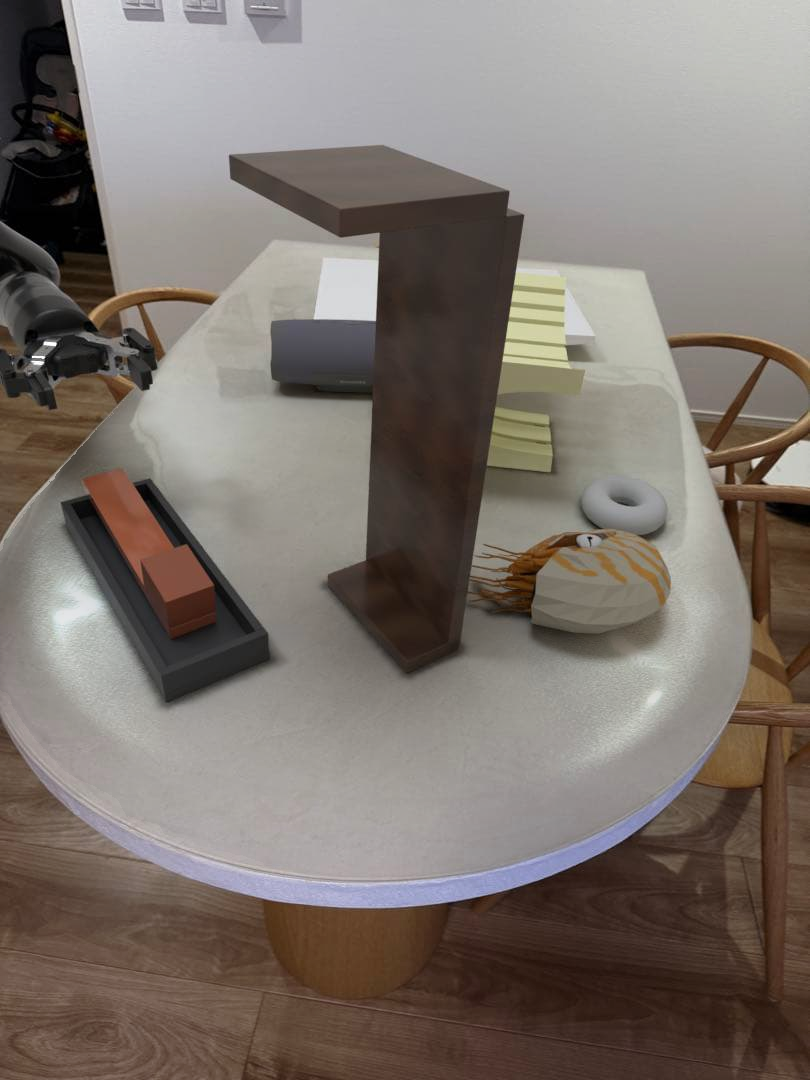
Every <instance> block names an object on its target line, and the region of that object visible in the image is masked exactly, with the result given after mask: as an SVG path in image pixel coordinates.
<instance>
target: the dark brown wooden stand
mask: <svg viewBox="0 0 810 1080" xmlns="http://www.w3.org/2000/svg"><path fill="white" fill-rule="evenodd" d="M228 165H229V178H230V180H231V181H233V182H235V183H237V184H239V185H240V186H243V187H245V188H246V189H248V190H250V191H252V192H254V193H256V194H258V195H260V197H261V196H262V197H263V198H265V199H267V200H269V201H270V202H273V203H274V204H276V205H278V206H280V207H282V208H284V209H286V210H287V211H290V212H292V213H293V214H295V215H297V216H299V217H301V218H303V219H304V220H306V221H309V222H310V223H312V224H314V225H316V226H318V227H319V228H321V229H323V230H325V231H327V232H328V233H330V234H333V235H334V236H336V237H338V238H340V239H342V238H349V237H350V238H351V237H357V236H365V235H366V236H367V235H371V234H372V235H373V234H378V233H379V238H378V259H377V260H378V283H377V307H376V330H375V354H374V377H373V392H372V401H371V402H372V405H371V423H370V424H371V426H370V427H371V428H370V448H369V449H370V451H369V471H368V474H369V475H368V496H367V497H368V498H367V499H368V500H367V520H366V521H367V522H366V546H365V560H363V561H360V562H357V563H354V564H352V565H350V566H349V565H348V566H347V567H343V568H341V569H339V570H336V571H333V572H331V573H328V574H327V587H328V588H329V589H330V590H331V591H332V592H333V593H334V595H335V596H336V597H337V598H338V599H339V600H340V601H341V602H342V603H343V604H344V606H345V607H346V608H347V609H348V610H349V612H351V613H352V614H353V616H355V618H356V619H357V620H358V621H359V622H360V624H362V626H363V627H364V629H366V631H368V632H369V633H370V634H371V635H372V637H373V638H374V639H375V640H376V641H377V642H378V643H379V644H380V645H381V647H382V648H383V649H384V650H385V651H386V652H387V653H388V655H389V656H390V657H391V658H392V659H393V660H394V661H395V662H396V663H397V664H398V666H399V667H400V668H401V669H402V670H403V671H404V672H405V673H406V674H409V673H411V672H413V671H415V670H417V669H420V668H422V667H424V666H425V665H428V664H430V663H431V662H432V663H433V662H434V661H436V660H438V659H440V658H442V657H444V656H448V655H449V654H451V653H453V652H455V651H457V650H459V649H460V645H461V638H462V633H463V626H464V618H465V614H466V613H465V612H466V605H467V599H468V594H469V593H468V591H469V586H470V581H469V580H470V579H471V577H470V575H471V573H472V567H471V566H472V565H473V558H474V556H473V555H474V552H475V546H476V541H477V533H478V527H479V526H478V525H479V520H480V513H481V507H482V499H483V494H484V493H483V492H484V487H485V479H486V474H487V473H486V472H487V468H488V466H487V460H488V454H489V447H490V440H491V434H492V427H493V421H494V414H495V407H497V406H496V405H497V399H498V395H497V394H498V387H499V381H500V374H501V368H502V361H503V354H504V348H505V341H506V334H507V328H508V321H509V315H510V308H511V301H512V295H513V288H514V281H515V275H516V268H518V267H517V266H518V259H519V255H520V247H521V242H522V241H521V240H522V236H523V235H522V234H523V227H524V221H525V214H524V213H522V212H519V211H516V210H514V209H511V208H509V201H510V194H511V193H510V192H511V191H510V190H508V189H506V188H503V187H500V186H498V185H496V184H495V185H494V184H492V183H489V182H486V181H484V180H481V179H479V178H475V177H473V176H470V175H467V174H464V173H462V172H459V171H456V170H453V169H450V168H447V167H445V166H442V165H440V164H437V163H434V162H431V161H428V160H426V159H422V158H420V157H417V156H414V155H411V154H409V153H407V152H403V151H401V150H398V149H395V148H393V147H390V146H387V145H384V144H374V145H359V146H343V147H328V148H327V147H326V148H309V149H298V150H296V149H295V150H279V151H265V152H264V151H263V152H248V153H233V154H228Z"/></svg>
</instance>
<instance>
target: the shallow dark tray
mask: <svg viewBox="0 0 810 1080" xmlns="http://www.w3.org/2000/svg"><path fill="white" fill-rule="evenodd" d="M132 484H133V485H134V487H135V488H136V490H137V491H138V493H139V494H140V496H141V497H142V499H143V501H144V502H145V504H146V505H147V507H148V508H149V510H150V511H151V513H152V514H153V516H154V518H155V519H156V521H157V522H158V524H159V525H160V527H161V528H162V530H163V531H164V533H165V534H166V536H167V538H168V539H169V541H170V542H171V544H172V545H173V547H174V548H177V547H180V546H183V545H186V544H187V545H188V547H189V548H190V550H191V551H192V553H193V554H194V556H195V557H196V559H197V560H198V562H199V563H200V565H201V566H202V568H203V569H204V571H205V572H206V574H207V575H208V577H209V578H210V580H211V581H212V583H213V584H214V591H215V607H216V622H215V623H212V624H210V625H207V626H204V627H202V628H199V629H196V630H194V631H191V632H189V633H186V634H183V635H181V636H178V637H176V638H173V639H170V637H169V636H168V634H167V632H166V631H165V629H164V627H163V625H162V624H161V622H160V620H159V618H158V617H157V615H156V613H155V611H154V610H153V608H152V606H151V605H150V603H149V601H148V599H147V598H146V596H145V594H144V592H143V591H142V589H141V587H140V586H139V584H138V582H137V580H136V579H135V577H134V575H133V573H132V572H131V570H130V568H129V567H128V565H127V563H126V561H125V560H124V558H123V556H122V554H121V553H120V551H119V549H118V548H117V546H116V544H115V542H114V541H113V539H112V537H111V535H110V534H109V532H108V530H107V529H106V527H105V525H104V523H103V522H102V520H101V518H100V516H99V515H98V513H97V511H96V509H95V508H94V506H93V504H92V503H91V501H90V499H89V497H88V496H87V494H86V495H81V496H78V497H75V498H70V499H67V500H63V501H60V506H61V510H62V514H63V518H64V522H65V526H66V528H67V530H68V532H69V533H70V535H71V537H72V539H73V540H74V543H75V544H76V546H77V547H78V549H79V551H80V553H81V555H82V556H83V559H84V560H85V562H86V564H87V565H88V567H89V569H90V571H91V572H92V575H93V576H94V578H95V579H96V581H97V583H98V585H99V587H100V589H101V590H102V592H103V594H104V595H105V597H106V599H107V602H108V603H109V604H110V606H111V607H112V609H113V611H114V614H115V615H116V617H117V618H118V620H119V622H120V624H121V625H122V627H123V629H124V631H125V632H126V634H127V637H128V638H129V639H130V641H131V643H132V645H133V647H134V649H135V650H136V652H137V653H138V655H139V657H140V659H141V661H142V662H143V664H144V666H145V668H146V670H147V671H148V673H149V675H150V677H151V678H152V680H153V682H154V684H155V685H156V687H157V689H158V690H159V692H160V694H161V696H162V697H163V700H164V702H166V703H168V702H170V701H172V700H175V699H177V698H179V697H182V696H184V695H187V694H188V693H191V692H194V691H196V690H199V689H200V688H203V687H206V686H208V685H211V684H213V683H215V682H218V681H220V680H222V679H224V678H227V677H229V676H232V675H234V674H236V673H239V672H241V671H244V670H246V669H249V668H251V667H253V666H255V665H256V666H257V665H258V664H260V663H263V662H265V661H268V660H270V643H269V633H268V631H267V630H266V629H265V627H264V626H263V625H262V623H261V622H260V621H259V620H258V618H257V617H256V616H255V614H254V613H253V612H252V610H251V609H250V608H249V606H248V605H247V604H246V603H245V601H244V600H243V599H242V597H241V596H240V595H239V593H238V592H237V590H236V589H235V588H234V587H233V585H232V584H231V583H230V581H229V580H228V579H227V577H226V576H225V575H224V573H223V572H222V571H221V570H220V568H219V567H218V565H217V564H216V563H215V561H214V560H213V559H212V557H211V556H210V554H208V552H207V551H206V550H205V548H204V547H203V546H202V545H201V543H200V542H199V540H198V539H197V537H196V536H195V535H194V534H193V532H192V531H191V530H190V528H189V527H188V526H187V525H186V523H185V522H184V521H183V519H182V518H181V517H180V516H179V514H178V513H177V511H176V510H175V509H174V508H173V506H172V505H171V503H170V502H169V501H168V499H167V498H166V497H165V496H164V494H163V493H162V492H161V490H160V489H159V488H158V486H157V485H156V483H154V481H153V480H152V478H151V477H148V478H145V479H141V480H138V481H134V482H133V481H132Z"/></svg>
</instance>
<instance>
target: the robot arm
mask: <svg viewBox="0 0 810 1080" xmlns="http://www.w3.org/2000/svg"><path fill="white" fill-rule="evenodd" d="M60 272H61V271H60V269H59V266H58V264H57V262H56V261H55V259H54V258H53V257H52V256H51V255H50V254H49V252H47V251H46V250H45V249H43V248H42V247H41V246H40V245H38V244H37V243H35V242H34V241H32V240H31V239H29V238H27V237H26V236H24V235H23V234H20V233H19V232H17V231H16V230H14V229H13V228H11V227H10V226H8V225H6V224H5V223H4V222H2V221H1V220H0V326H3V327H6V328H7V329H8V331H9V334H10V336H11V339H12V341H13V343H14V344H15V346H16V347H18V348H19V350H20V351H21V352H22V353H18V354H13V353H12V352H11V353H10V352H9V353H8V352H7V350H6V349H4V348H0V383H1V385H2V389H3V390H4V393H5V394H6V397H7V398H9V399H16V398H19V397H21V395H22V393H25V394H26V393H27V394H28V395H29V396H30V397H32V399H33V400H34V402H35V404H36V405H37V406H39V407H41V408H42V407H46V408H47V410H48V411H52V410H57V409H58V404H57V401H56V397H55V392H54V389H55V388H56V387H57V386H58V385H59V383H61V381H63V380H66V379H72V378H76V377H78V376H80V375H94V374H98V375H103V376H106V377H112V378H117V377H118V376H120V375H123V376H127V377H129V378H130V379H131V381H132V382H133V383H134V384H135V385H136V387H138V388H139V390H140V391H141V392H145V391H149V390H151V386H150V385H153V384H154V380H153V372H154V371H157V370H158V368H159V367H158V363H157V358H156V346H155V344H154V343H153V342H151V341H150V340H149V339H147V338H146V337H145V336H144V335H143V334H142V333H140V332H139V331H138V330H137V329H136V328H134V327H126V328H123V329H122V336H118V337H112V338H111V337H110V336H108V335H107V334H104V333H101V332H100V330H99V328H98V327H97V326H96V324H95V323H94V322H93V320H92V319H91V318H90V317H89V316H88V315H87V314H86V313H85V312H84V311H83V309H82V308H81V307H80V306H79V305H78V304H77V303H76V301H74V300H73V299H72V298H71V297H70V296H69V295H68V294H66V293H65V292H63V291H62V290H61V289H60V288H59V286H60V283H61V273H60ZM123 358H126V363H127V364H125V363H124V361H123V360H124V359H123ZM107 363H108V364H107ZM24 367H25V368H24ZM22 368H23V371H22ZM21 371H22V372H21Z"/></svg>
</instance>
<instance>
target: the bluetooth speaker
mask: <svg viewBox="0 0 810 1080" xmlns="http://www.w3.org/2000/svg"><path fill="white" fill-rule="evenodd" d="M375 330H376V321H366V320H334V319H314V318H313V319H311V318H309V319H299V318H298V319H278V320H277V319H276V320H271V323H270V330H269V331H270V342H271V343H270V344H271V345H270V347H271V348H270V349H271V351H270V352H271V353H270V354H271V357H270V376H271V380H272V381H275V382H276V381H277V382H282V383H291V384H304V385H314V386H315V387H316V389H317V390H319V391H323V392H334V393H335V392H336V393H364V394H365V393H373V377H374V354H375Z"/></svg>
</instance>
